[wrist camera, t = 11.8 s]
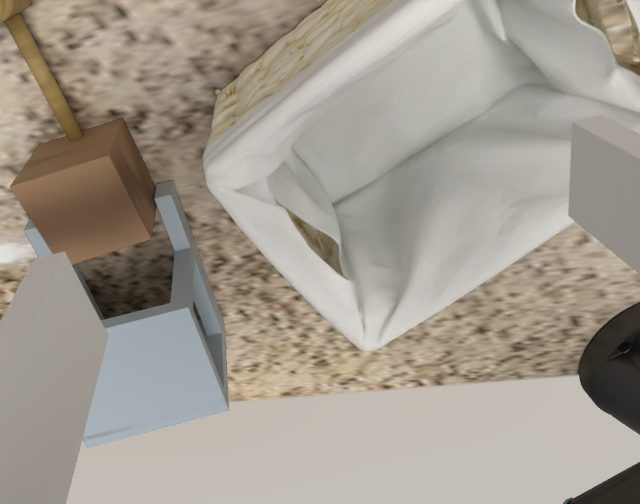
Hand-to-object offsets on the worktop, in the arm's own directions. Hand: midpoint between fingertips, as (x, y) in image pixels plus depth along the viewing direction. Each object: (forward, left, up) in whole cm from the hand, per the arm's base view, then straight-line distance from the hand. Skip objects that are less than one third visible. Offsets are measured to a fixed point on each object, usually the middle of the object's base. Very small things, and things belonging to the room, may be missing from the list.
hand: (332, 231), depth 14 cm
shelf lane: (-16, +13, -27) cm, 34 cm away
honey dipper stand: (-1, +13, -27) cm, 30 cm away
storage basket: (-5, -9, -27) cm, 29 cm away
